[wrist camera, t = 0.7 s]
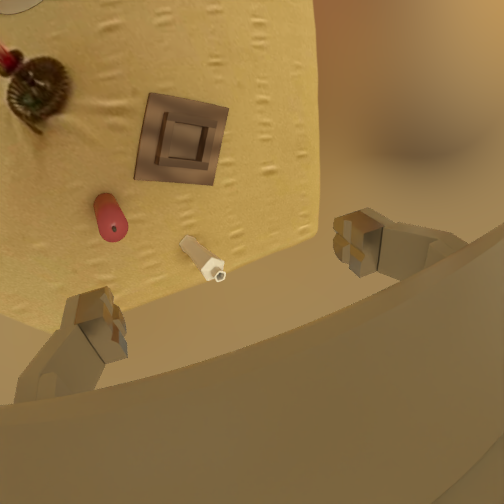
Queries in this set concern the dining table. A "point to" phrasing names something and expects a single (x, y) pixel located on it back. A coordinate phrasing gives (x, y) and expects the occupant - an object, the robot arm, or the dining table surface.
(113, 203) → the burgundy candle
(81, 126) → the dining table surface
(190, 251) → the perfume bottle
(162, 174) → the walnut stand
